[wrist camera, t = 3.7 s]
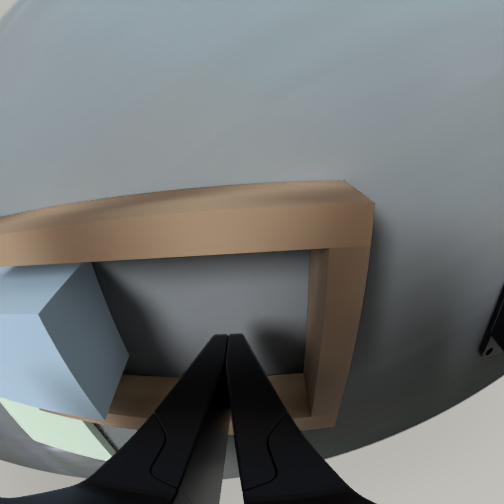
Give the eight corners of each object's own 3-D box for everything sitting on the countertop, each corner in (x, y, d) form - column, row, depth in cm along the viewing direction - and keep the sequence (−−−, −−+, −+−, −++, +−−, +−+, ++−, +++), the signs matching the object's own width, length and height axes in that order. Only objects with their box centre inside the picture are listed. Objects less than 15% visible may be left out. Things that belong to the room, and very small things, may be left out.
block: (91, 253, 9) (38, 313, 6) (130, 352, 11) (105, 420, 8) (-9, 267, 9) (-57, 311, 6) (31, 347, 11) (-1, 396, 8)
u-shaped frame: (345, 180, 8) (374, 203, 6) (324, 385, 12) (334, 426, 10) (-14, 220, 8) (-49, 243, 6) (56, 378, 12) (40, 410, 10)
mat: (65, 383, 12) (61, 391, 12) (120, 456, 16) (118, 463, 15) (-20, 362, 12) (-24, 368, 12) (35, 434, 16) (33, 440, 15)
